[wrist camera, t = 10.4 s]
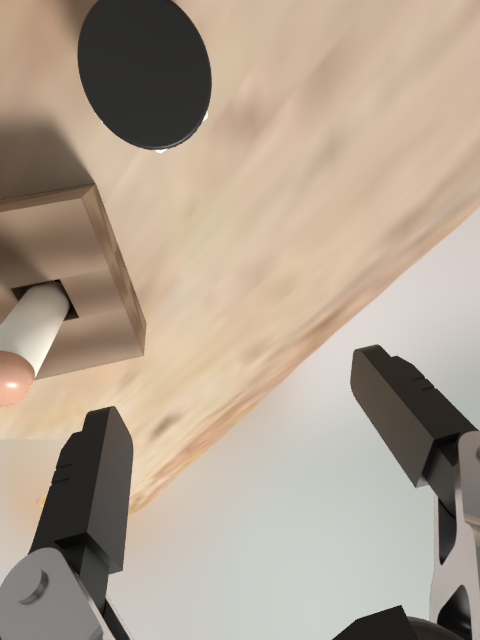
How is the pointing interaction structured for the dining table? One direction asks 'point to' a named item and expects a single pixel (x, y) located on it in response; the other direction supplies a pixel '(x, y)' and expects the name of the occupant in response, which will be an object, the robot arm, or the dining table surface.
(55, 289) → the plug
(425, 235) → the dining table surface
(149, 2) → the jar
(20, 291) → the socket block
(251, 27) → the dining table surface
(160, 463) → the dining table surface
